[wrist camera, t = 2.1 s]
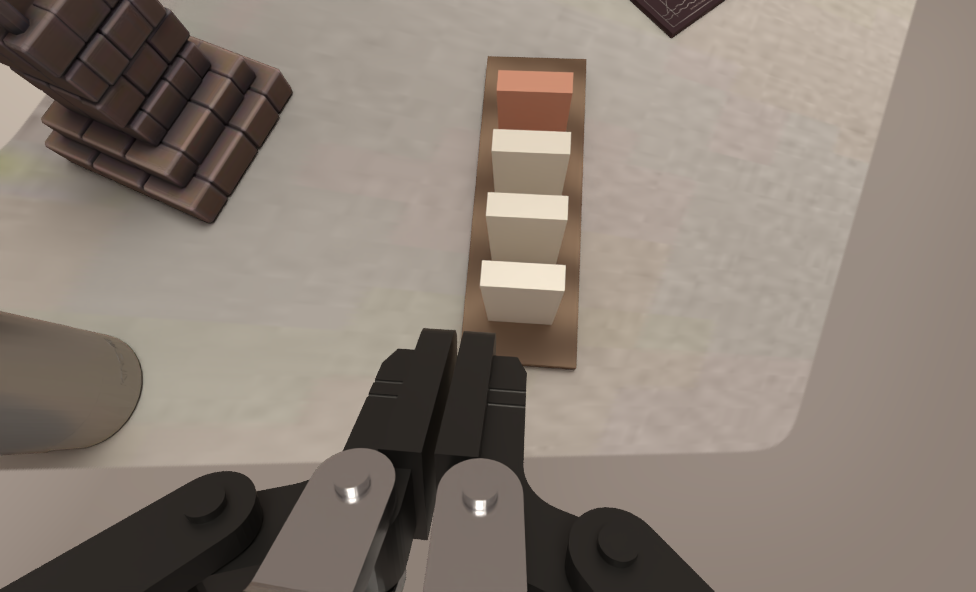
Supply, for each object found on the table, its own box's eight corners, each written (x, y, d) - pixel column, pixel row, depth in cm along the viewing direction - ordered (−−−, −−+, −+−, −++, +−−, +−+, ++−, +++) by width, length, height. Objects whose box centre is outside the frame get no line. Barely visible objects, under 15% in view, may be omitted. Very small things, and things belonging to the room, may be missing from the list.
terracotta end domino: (558, 170, 42) (572, 93, 32) (500, 167, 42) (496, 90, 32) (559, 153, 42) (573, 72, 32) (501, 150, 42) (498, 70, 33)
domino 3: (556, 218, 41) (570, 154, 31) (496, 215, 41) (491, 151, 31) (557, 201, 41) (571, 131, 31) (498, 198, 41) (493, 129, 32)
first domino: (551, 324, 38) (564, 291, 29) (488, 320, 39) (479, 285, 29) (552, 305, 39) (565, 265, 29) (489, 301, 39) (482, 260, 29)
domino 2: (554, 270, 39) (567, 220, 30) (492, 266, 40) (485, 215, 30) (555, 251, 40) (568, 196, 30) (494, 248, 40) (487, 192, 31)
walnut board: (574, 369, 39) (576, 367, 37) (461, 361, 39) (459, 359, 38) (584, 68, 46) (586, 59, 44) (488, 65, 46) (487, 56, 45)
